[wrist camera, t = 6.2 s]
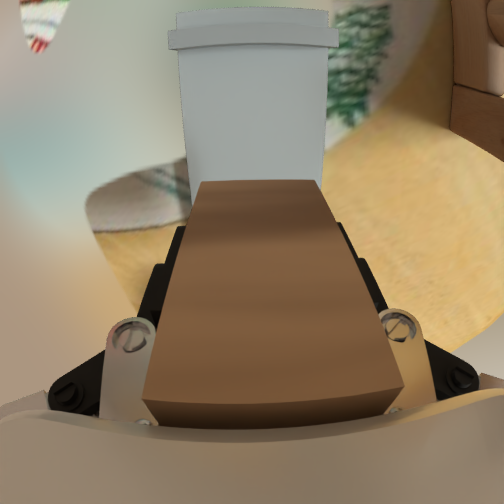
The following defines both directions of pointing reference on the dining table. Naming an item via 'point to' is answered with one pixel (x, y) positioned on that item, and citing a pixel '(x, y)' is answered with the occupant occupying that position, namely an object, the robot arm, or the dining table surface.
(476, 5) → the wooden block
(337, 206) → the dining table surface
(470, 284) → the dining table surface
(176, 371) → the brown rectangular block
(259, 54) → the rail
